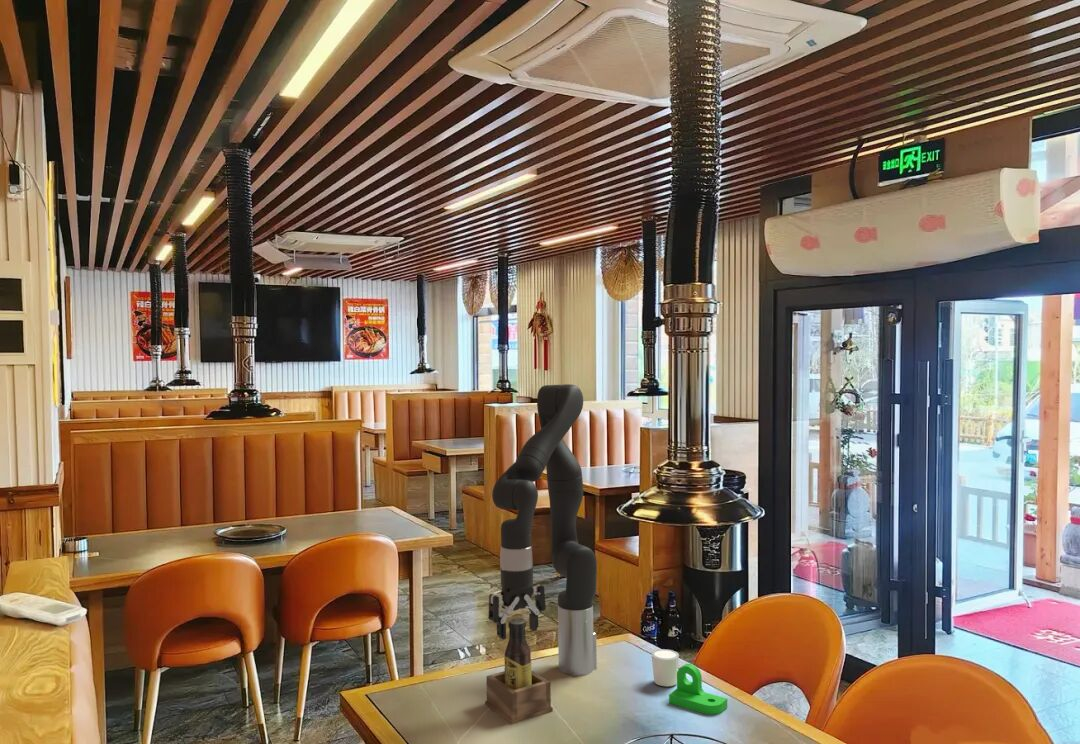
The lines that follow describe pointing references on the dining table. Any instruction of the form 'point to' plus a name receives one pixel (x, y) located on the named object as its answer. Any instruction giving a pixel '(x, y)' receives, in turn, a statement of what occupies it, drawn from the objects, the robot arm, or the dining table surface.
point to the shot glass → (665, 667)
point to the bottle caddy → (518, 698)
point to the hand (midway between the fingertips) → (517, 634)
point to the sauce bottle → (517, 656)
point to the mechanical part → (695, 693)
